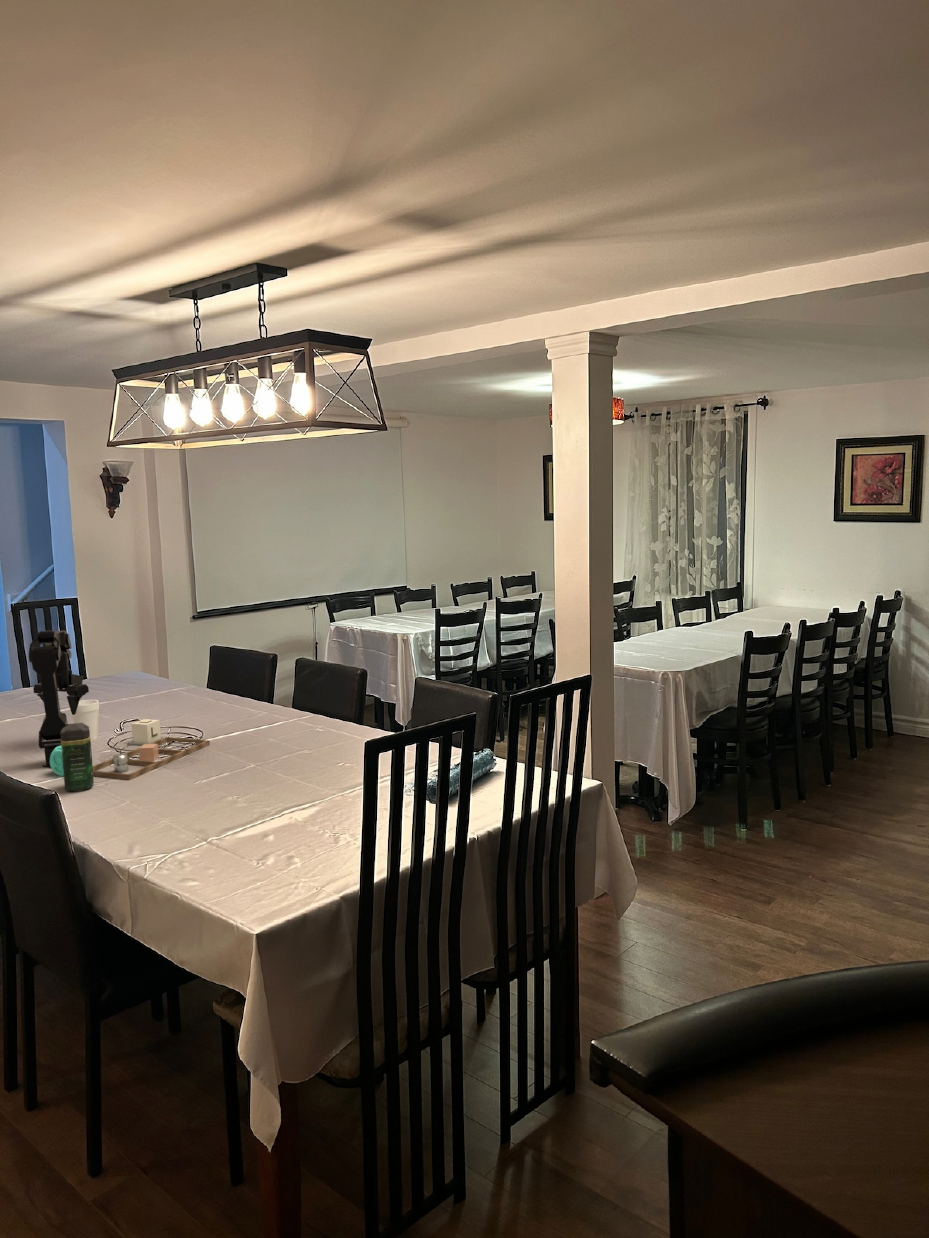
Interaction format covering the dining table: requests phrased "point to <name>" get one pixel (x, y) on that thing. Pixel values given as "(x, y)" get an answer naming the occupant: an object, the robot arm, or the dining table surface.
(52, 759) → the teal round container
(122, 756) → the grey metal canister
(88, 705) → the foam cup
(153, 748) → the terracotta block
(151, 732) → the letter cube
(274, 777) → the dining table surface
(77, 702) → the robot arm
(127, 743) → the slate pad
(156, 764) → the walnut rack
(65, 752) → the coffee jar
